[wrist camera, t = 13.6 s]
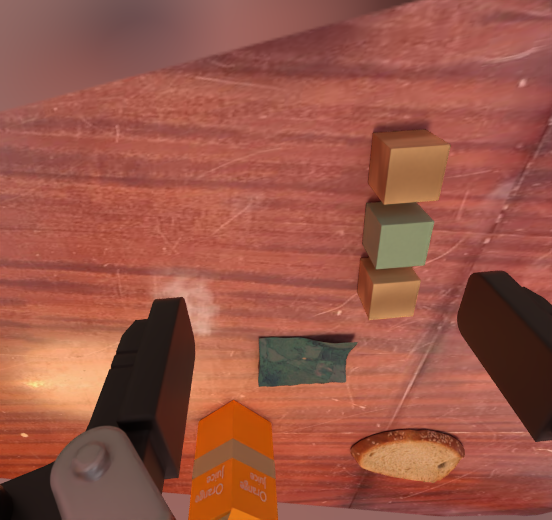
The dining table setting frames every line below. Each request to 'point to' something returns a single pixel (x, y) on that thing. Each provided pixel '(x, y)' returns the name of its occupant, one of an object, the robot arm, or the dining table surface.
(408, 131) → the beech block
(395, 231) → the sage block
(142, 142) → the dining table surface
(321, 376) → the terrain model
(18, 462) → the dining table surface
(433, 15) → the dining table surface
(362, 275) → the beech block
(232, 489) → the orange juice
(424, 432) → the bread slice
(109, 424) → the robot arm
